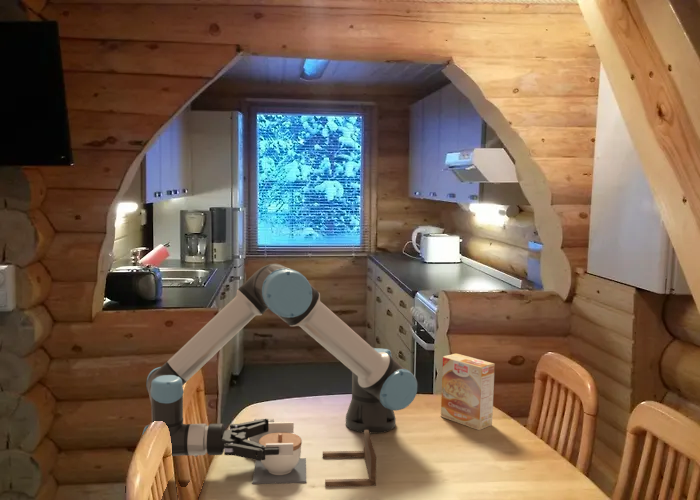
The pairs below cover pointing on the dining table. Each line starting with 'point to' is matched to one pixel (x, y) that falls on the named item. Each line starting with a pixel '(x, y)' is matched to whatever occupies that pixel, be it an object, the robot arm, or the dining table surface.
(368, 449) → the shelf lane
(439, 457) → the dining table surface
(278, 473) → the lidded jar
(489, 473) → the dining table surface
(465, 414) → the coffeecake box
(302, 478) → the pad
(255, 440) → the die
